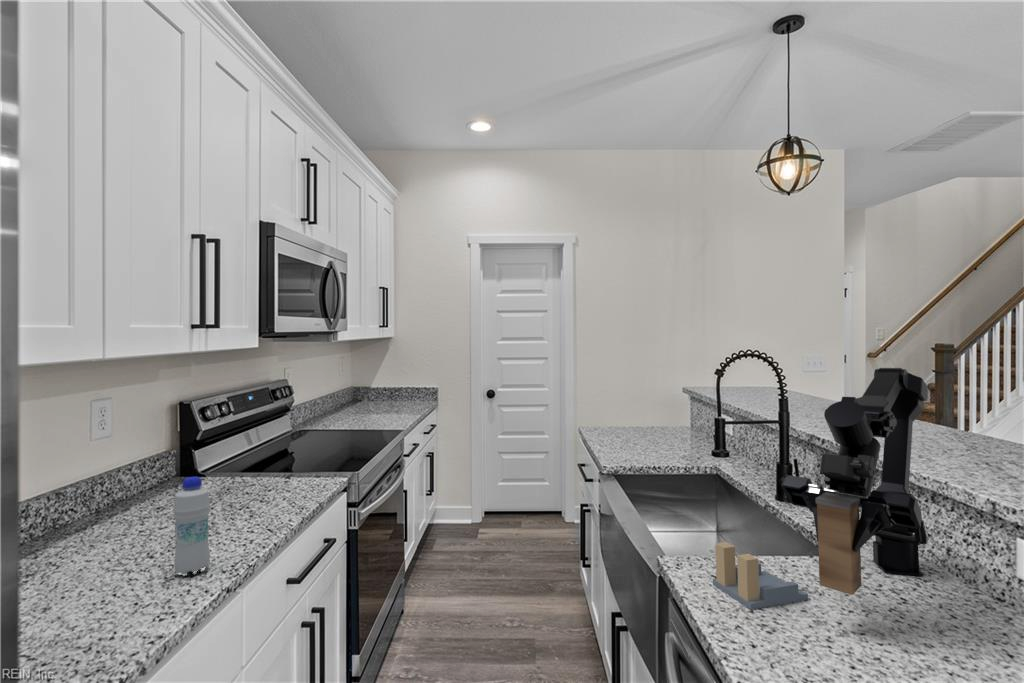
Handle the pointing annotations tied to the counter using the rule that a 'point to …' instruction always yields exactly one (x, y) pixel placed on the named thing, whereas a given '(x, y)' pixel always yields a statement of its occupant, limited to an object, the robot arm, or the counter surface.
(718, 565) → the base with wooden posts
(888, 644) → the counter surface
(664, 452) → the counter surface
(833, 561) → the rail end
